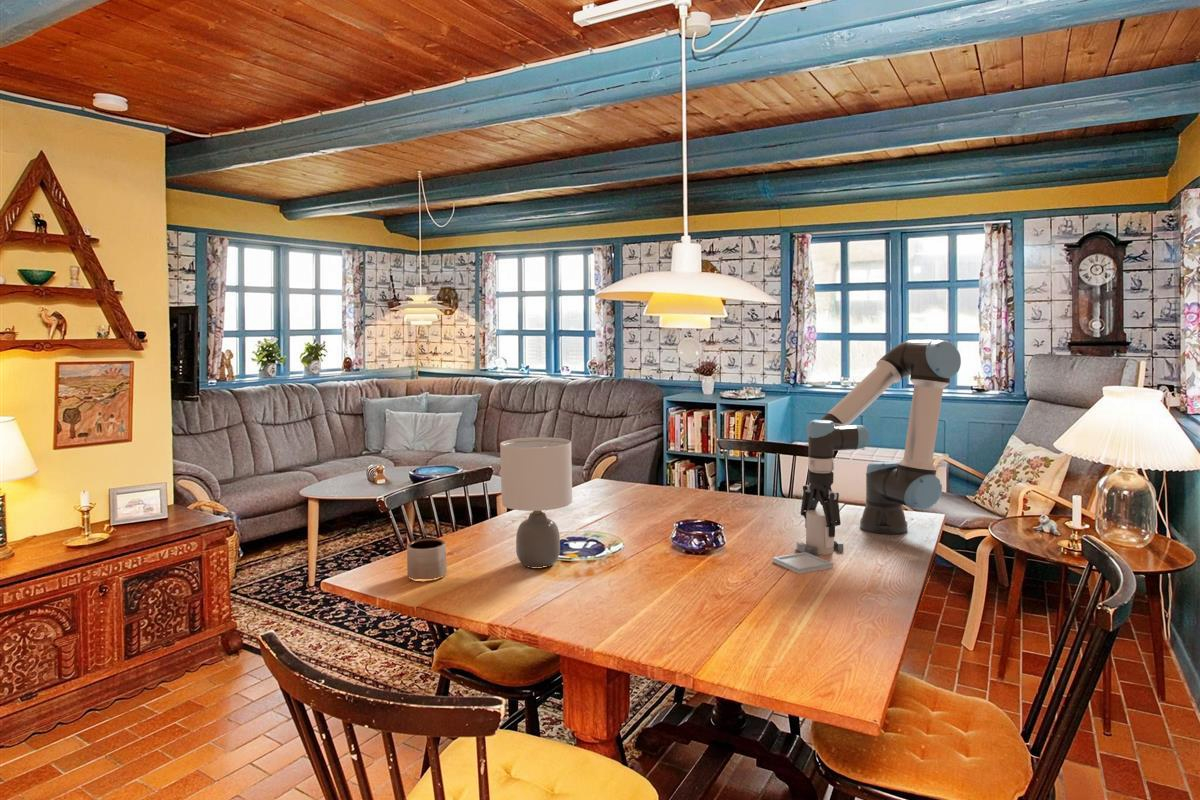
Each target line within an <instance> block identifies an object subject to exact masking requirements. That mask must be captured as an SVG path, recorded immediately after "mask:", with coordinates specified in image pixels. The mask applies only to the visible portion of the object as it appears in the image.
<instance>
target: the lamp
mask: <svg viewBox="0 0 1200 800" xmlns="http://www.w3.org/2000/svg"><path fill="white" fill-rule="evenodd" d="M499 444H500V445H499V446H500V447H499V448H500V449H499V450H500V452H499V453H500V454H499V455H500V479H501V481H500V484H501V506H502V507H504V508H507V509H510V510H514V511H524V512H525V511H527V512H530V511H531V513H529V514H528V517H527V519H525V520H523V521H522V522H521V523H520V525H518V528H517V530H516V538H515V541H516V542H515V551H516V556H517V559H518V561H519V562H520V564H522V565H523V566H524V565H525V566H524V567H526V566H529V567H543V566H549V565H551V566H553V565H554V564H555V563H556V562H557V560H558V558H559V556H560V552H561V538H560V530H559V528H558V526H557V524H556V523H555V521H554V520H552V519H550V518H548V517H547V515H546V513H545V512H544V511H550V510H551V511H552V510H556V509H557V510H558V509H562V508H565V507H568V506H569V505H571V504H572V503H573V470H572V469H573V467H572V466H573V464H572V463H573V462H572V441H571V440H570V439H565V438H561V437H551V436H550V437H547V436H546V437H544V436H543V437H539V436H537V437H535V436H533V437H521V438H513V439H509V440H508V439H507V440H504V441H501V442H500V443H499ZM552 564H553V565H552ZM549 567H550V566H549Z"/></svg>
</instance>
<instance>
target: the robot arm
mask: <svg viewBox="0 0 1200 800" xmlns="http://www.w3.org/2000/svg"><path fill="white" fill-rule="evenodd" d="M961 359H962V358H961V354H960V351H959V350H958V348H957V347H956V346H955V344H953V343H952V342H950V341H948V340H941V339H909V340H905V341H903V342H901V343H900V344H898V345H896V346H894V347H893V348H891V350H889V351H887V352H886V353H885V354H884V355H883V356H882V357H881V358H880V359H879V360H878V361H877V362H876V366H875V368H874V369H873V370H872V371H871V372H870V373H868V374H867V376H865V377H864V378H863V379H862V380H861V381H860V382H858V384H857V385H856V386H855V387H854V388H852V390H850V391H849V392H848V393H847V394H846V395H845V396H844V397H843V398H842V399H841V400H840V401H839V402H838V403H836V405H834V406H833V408H831V409H830V410H829V411H828V412H827V413H826V414H825V415H824V416H823V417H821V418H820V419H819V418H818V419H817V418H816V419H812V420H810V421H809V422H808V424H807V425H806V428H805V433H806V436H807V439H808V444H807V445H808V453H807V455H808V459H807V460H808V463H807V465H808V471H807V482H808V484H806V485H803V486H802V492H803V493H802V498H801V499H802V500H801V506H800V516H803V518H804V519H805V521H804V522H805V525H804V526H805V528H806V512H807V511H808V510H815V509H817V506H818V503H819V504H820V505H821V506H822V509H823V510H824V514H825V516H826V521H827V525H826V526H825V547H826V548H828V547H834V539H835V536H836V527H838V526H840V525H841V516H840V515H841V514H840V513H841V512H840V503H839V497H840V493H839V492H834V491H832V485H833V483H834V469H835V466H834V464H835V451H848V450H850V451H851V450H852V451H853V450H854V451H857V450H861V449H865V448H866V447H867V446H868V444H869V441H870V433H869V430H868V429H867V427H866V426H865V425H862V424H851V423H853V422H854V421H855V420H856V419H857V418H858V417H859V416H860V415H861V414H862V413H863V412H864V411H866V409H867V408H869V407H870V406H871V405H872V403H874V402H875V401H876V400H877V399H878V398H879V397H880V396H881V395H882V394H883V393H885V391H887V390H888V389H889V387H891V385H893V384H898V383H900V382H901V381H902V380H903V379H904V378H906V377H909V376H910V377H909V381H910V382H911V383H912V385H913V390H912V391H913V392H912V399H911V407H910V412H909V419H908V426H907V433H906V439H905V445H904V453H903V454H904V455H903V458H902V460H900V461H899V460H898V461H896V460H895V461H892V460H891V461H888V460H887V461H886V460H885V461H874V462H870V463H868V465H867V466H866V472H865V475H866V476H865V478H866V479H865V482H866V483H865V506H864V509H863V513H862V517H861V518H860V519H859V521H860V523H859V524H860V525H859V527H860V528H861V529H862V530H863V531H866V532H870V533H873V534H874V533H875V534H884V535H898V534H905V533H906V532H908V521H907V520H906V516H905V512H904V509H903V508H904V507H903V506H906V507H908V508H910V509H915V510H920V511H921V510H927V509H930V508H932V507H933V506H934V505H936V504H937V502H938V501H939V499H940V498H941V495H942V492H943V486H942V485H943V484H942V482H941V480H940V479H939V477H937V468H936V466H935V465H934V464H933V460H934V454H935V446H936V439H937V435H938V434H937V433H938V426H939V421H940V420H939V419H940V412H941V405H942V399H943V394H944V393H943V392H944V389H945V388H946V387H947V386H949V385H950V381H951V378H952V377H954V376H956V375H957V373H958V372H959V371H960V369H961V365H962V360H961Z"/></svg>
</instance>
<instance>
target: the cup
mask: <svg viewBox="0 0 1200 800" xmlns="http://www.w3.org/2000/svg"><path fill="white" fill-rule="evenodd" d="M826 525H827V521H826V516H825V514H824V510H823V508H822V509H821V508H820V509H819V508H816V509H815V510H808V511H807V512H806V527H805V544H806V545H809V546H814V547H818V555H829V554H833V553H834V548H833V547H828V548H826V547H825V526H826Z"/></svg>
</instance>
